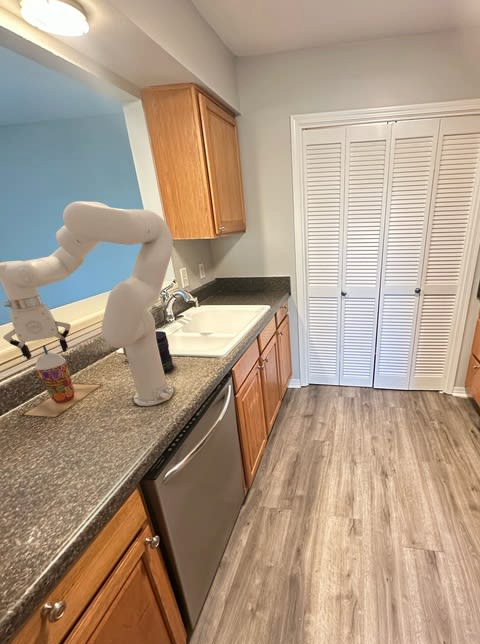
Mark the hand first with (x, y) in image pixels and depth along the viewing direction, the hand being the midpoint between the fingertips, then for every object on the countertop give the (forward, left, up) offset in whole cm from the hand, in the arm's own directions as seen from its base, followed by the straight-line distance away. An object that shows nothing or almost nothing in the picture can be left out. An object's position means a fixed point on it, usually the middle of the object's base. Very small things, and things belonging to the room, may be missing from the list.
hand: (47, 354), depth 105 cm
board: (0, 0, -17) cm, 17 cm away
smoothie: (0, 0, -17) cm, 17 cm away
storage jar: (-13, -30, -17) cm, 37 cm away
